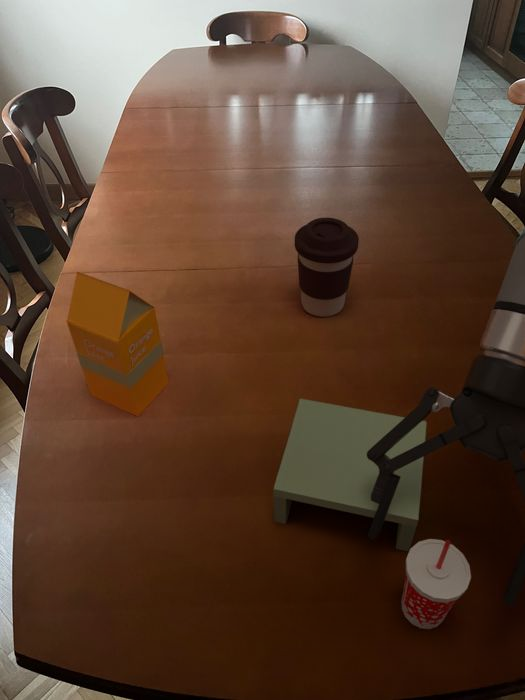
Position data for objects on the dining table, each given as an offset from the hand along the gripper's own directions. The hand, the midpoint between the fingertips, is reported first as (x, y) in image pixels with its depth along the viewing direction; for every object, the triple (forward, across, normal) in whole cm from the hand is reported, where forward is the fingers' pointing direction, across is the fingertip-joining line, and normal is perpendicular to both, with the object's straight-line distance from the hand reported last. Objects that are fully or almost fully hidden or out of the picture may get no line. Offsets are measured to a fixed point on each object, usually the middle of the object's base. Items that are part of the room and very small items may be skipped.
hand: (437, 567), depth 58 cm
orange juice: (0, +48, -12) cm, 50 cm away
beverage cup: (+6, 0, -6) cm, 8 cm away
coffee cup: (-23, +32, -35) cm, 52 cm away
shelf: (-1, +13, -12) cm, 18 cm away
